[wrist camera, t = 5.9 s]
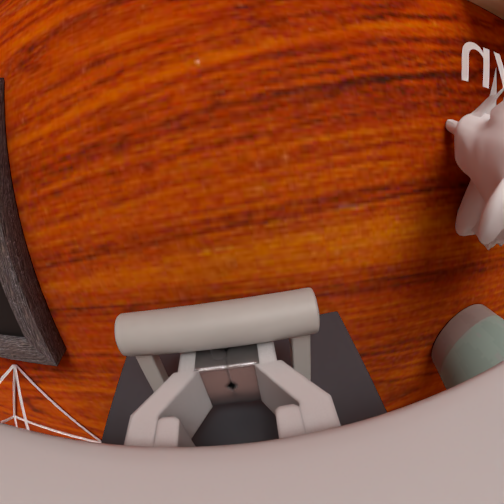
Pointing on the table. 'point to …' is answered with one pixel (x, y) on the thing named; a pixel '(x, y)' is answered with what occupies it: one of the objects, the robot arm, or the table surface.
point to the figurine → (481, 158)
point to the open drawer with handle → (238, 334)
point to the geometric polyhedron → (46, 397)
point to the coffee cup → (469, 345)
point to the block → (491, 6)
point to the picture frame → (20, 282)
